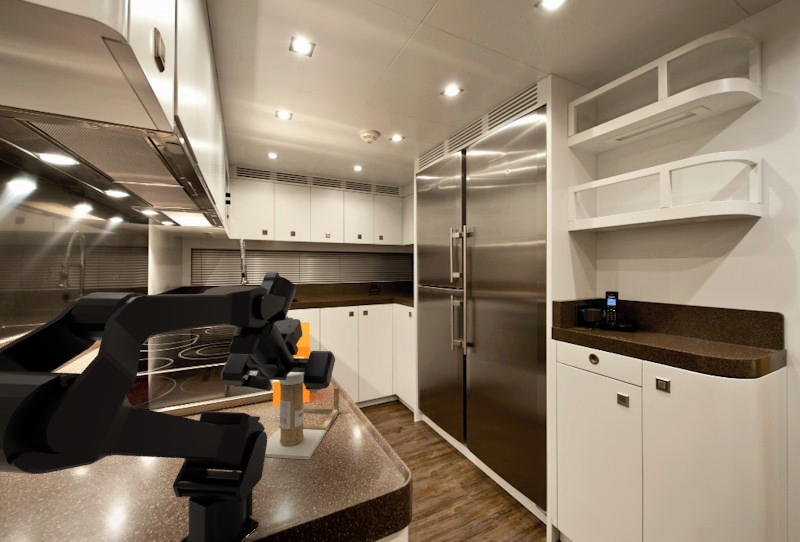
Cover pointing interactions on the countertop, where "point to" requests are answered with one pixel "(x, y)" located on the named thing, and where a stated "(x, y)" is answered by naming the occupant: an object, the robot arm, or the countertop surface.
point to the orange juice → (302, 353)
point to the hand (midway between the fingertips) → (292, 389)
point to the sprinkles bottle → (291, 409)
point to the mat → (298, 450)
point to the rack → (332, 412)
